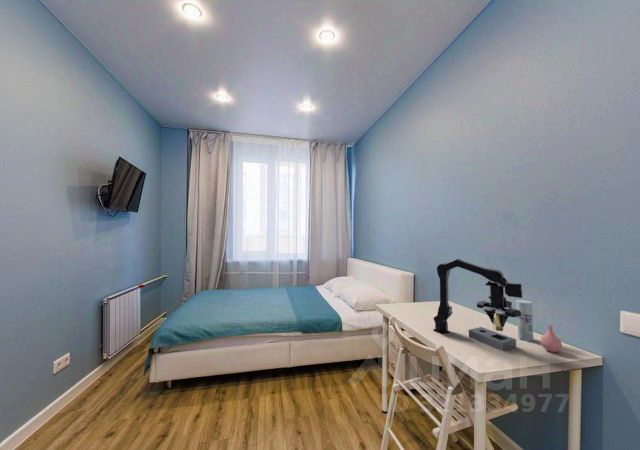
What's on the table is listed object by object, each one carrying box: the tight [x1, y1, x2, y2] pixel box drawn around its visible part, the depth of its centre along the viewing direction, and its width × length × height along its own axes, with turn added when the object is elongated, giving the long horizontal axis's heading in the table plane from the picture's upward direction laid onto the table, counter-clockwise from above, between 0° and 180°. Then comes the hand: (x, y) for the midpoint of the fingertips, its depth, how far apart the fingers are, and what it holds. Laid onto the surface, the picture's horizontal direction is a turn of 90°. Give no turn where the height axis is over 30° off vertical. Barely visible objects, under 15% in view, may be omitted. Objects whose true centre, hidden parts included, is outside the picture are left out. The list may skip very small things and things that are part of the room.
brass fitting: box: [492, 312, 504, 332], centre depth 127 cm, size 4×4×8 cm
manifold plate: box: [468, 326, 517, 352], centre depth 130 cm, size 10×18×4 cm, turn 22°
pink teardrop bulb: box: [540, 324, 563, 353], centre depth 119 cm, size 8×8×12 cm
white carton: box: [516, 299, 534, 343], centre depth 133 cm, size 6×6×20 cm
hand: (498, 325), depth 127 cm, fingers closed on brass fitting, 4 cm apart
